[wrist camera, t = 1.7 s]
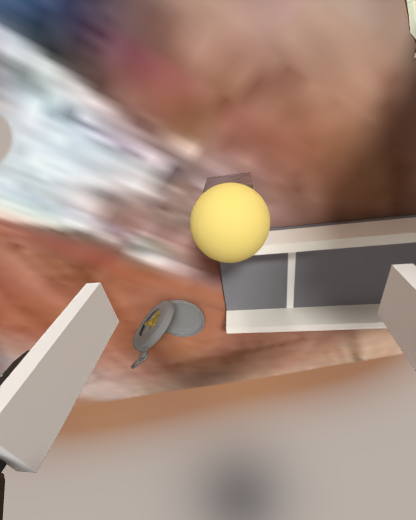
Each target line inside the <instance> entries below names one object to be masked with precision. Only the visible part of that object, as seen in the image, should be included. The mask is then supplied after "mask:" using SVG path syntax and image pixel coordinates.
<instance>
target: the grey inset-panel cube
mask: <svg viewBox="0 0 416 520" xmlns="http://www.w3.org/2000/svg"><path fill="white" fill-rule="evenodd" d="M230 182H232V183H239V184H243V185H246V186H248V187H250V188H251V189H253V185H252V180H251V176H250V172H249V173H241V174H234V175H226V176H219V177H211V178H207V181H206V184H205V187H204V190H203V193H204V192H205V191H207V190H208V189H210V188H211V187H213V186H215V185H218V184H222V183H230Z"/></svg>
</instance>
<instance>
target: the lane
mask: <svg viewBox="0 0 416 520" xmlns="http://www.w3.org/2000/svg"><path fill="white" fill-rule="evenodd" d="M219 263H220V270H221V277H222V283H223V290H224V297H225V303H226V310H227V314H226V331H227V334H228V333H259V332H289V331H320V330H351V329H382V328H387V327H386V326H385V324H384V323H383V321H382V320H381V318H380V317H379V315H378V314H377V313H378V309H379V306H380V302H381V299H382V296H383V292H384V289H385V286H386V282H387V279H388V276H389V272H390V269H391V266H392V265H395V264H412V263H413V264H414V265H415V266H416V214H415V215H404V216H394V217H384V218H373V219H363V220H353V221H342V222H332V223H321V224H311V225H301V226H290V227H280V228H270V229H269V234H268V236H267V239H266V241H265V243H264V244H263V246H262V247H261V249H260V250H259V251H258V252H257V253H255V254H254V255H253V256H251V257H250V258H248V259H246V260H243V261H240V262H235V263H224V262H219Z"/></svg>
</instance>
